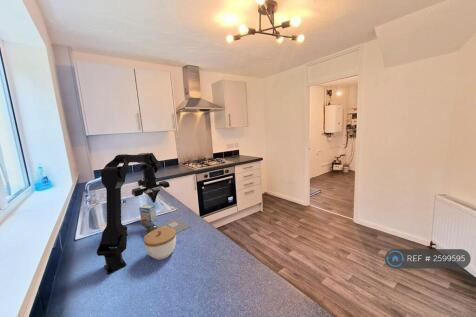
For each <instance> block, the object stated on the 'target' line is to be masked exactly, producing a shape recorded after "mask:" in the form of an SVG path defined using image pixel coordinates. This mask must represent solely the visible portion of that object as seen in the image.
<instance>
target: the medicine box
mask: <svg viewBox="0 0 476 317" xmlns="http://www.w3.org/2000/svg"><path fill="white" fill-rule="evenodd" d="M138 209H139V215H140V219H142V218H145V217H146V218H147V220H148V221H150V222H151V223H153V222H154V221H156V220H157V211H156V205H151V204H148V205H147V204H144V205H141V206H140V207H139V208H138Z"/></svg>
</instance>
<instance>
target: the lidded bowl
mask: <svg viewBox="0 0 476 317" xmlns="http://www.w3.org/2000/svg"><path fill="white" fill-rule="evenodd" d="M143 242H144V247H145V249H146V253H147V254H148V255H149V256H150V258H153V259H155V260H157V261H160V260H164V259H167V258H168V257H170V256H171V255H172V253H173V252H174V250H175V247H176V244H177V233H176V231H175V229H173V228H170V227H163V228H158V229H155V230H153V231H151V232H149V233H148V234H147V235H146V234H145V236H144V238H143Z"/></svg>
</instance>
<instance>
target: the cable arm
mask: <svg viewBox="0 0 476 317" xmlns="http://www.w3.org/2000/svg"><path fill="white" fill-rule="evenodd" d="M140 222H141V226H142V227H143V228H145V230H149V231H150V232H151V231H153V230H155V229H157V225H158V224H154V223H153V222H150V221H148V220H147V218H146V217H145V218H142V219H141V218H140Z"/></svg>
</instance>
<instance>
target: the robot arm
mask: <svg viewBox="0 0 476 317" xmlns="http://www.w3.org/2000/svg"><path fill="white" fill-rule="evenodd" d="M130 163H137V164H139V165H141V167H140V168H139V170H140V171H142V174H143V180H142V179H138V180H137V185H138V187H136V188H132V190H131V195H132V196H134V197H139V196H143V194H145V195H147V196H148V197H149V199H150V201H151V202H152V203H153V204H154V203H156V201H157V196H158V194H159V192H161V189H160V188H164V189H166V188H170V187H171V186H170V182H169V181H166V180H163V181H159V182H158V183H157V177H156V174H157V173H158V172H160V171H162V169H163V164H162V163H161V162H159V159H157V158H156V155H155V154H154V153H153V152H146V153H145V152H144V153H143V152H142V153H137V154H127V153H125V154H124V153H123V154H117V155H115V156H114V158H113V159H112V160H111V161H109V162H107V163H106V164H105V166H104V167H103V169H101V171H100V180H101V184H102V185H103V186H104V188H105V190H106V191H105V192H106V194H105V195H106V226H105V227H104V229H103V231H102V233H101V239H100V242H99V245H98V247H97V250H96V252H95V253H96V255H97V256H98V257H103V258H104V262H105V264H104V266H103V268H104V269H105V272H106V274H107V275H111V274H112V273H114V272H116V271H118V270H120V269H122V268H124V267H126V266H127V262H126V261H125V260H124V258H123V253H124V252H125V250H127V242H128V237H127V236H128V226H127V225H123V223H122V187H123V185H124V184H125V182H126V177H127V176H126V175H127V174H128V172H129V171H130V165H129V164H130ZM120 164H122V166H120ZM141 186H142V188H141Z"/></svg>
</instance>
